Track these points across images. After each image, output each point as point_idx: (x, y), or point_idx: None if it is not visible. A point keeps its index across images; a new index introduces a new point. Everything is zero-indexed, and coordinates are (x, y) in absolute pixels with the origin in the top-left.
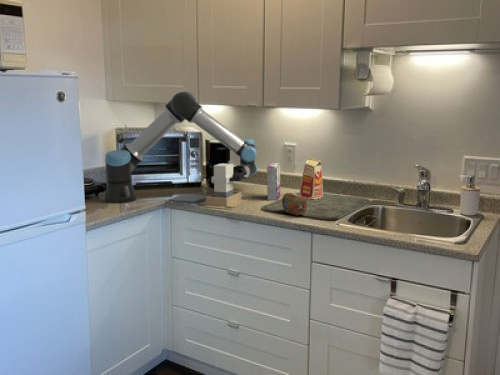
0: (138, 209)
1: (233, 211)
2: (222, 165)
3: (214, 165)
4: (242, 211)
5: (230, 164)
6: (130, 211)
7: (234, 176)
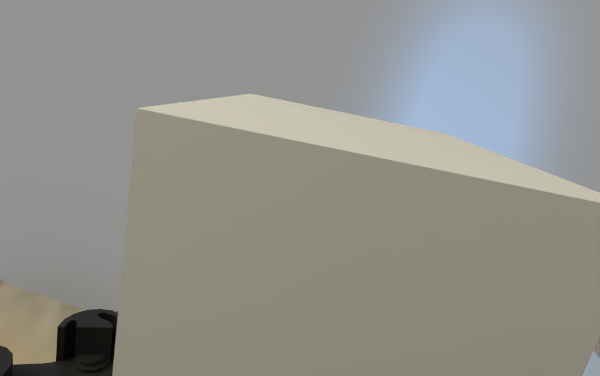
0: (596, 351)
1: None
2: (332, 113)
3: (444, 133)
4: (39, 340)
5: (216, 106)
6: None
7: (80, 350)
